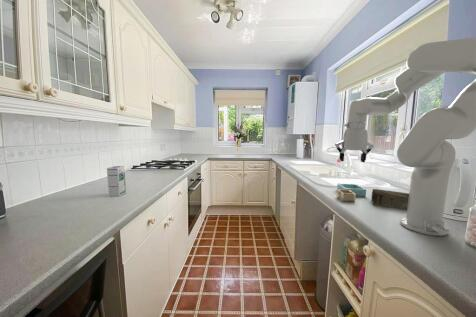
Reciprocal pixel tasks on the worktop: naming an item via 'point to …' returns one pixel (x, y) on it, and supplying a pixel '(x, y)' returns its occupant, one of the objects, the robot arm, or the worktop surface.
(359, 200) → the worktop surface
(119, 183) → the syrup box
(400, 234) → the worktop surface
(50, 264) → the worktop surface
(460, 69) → the robot arm
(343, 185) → the box
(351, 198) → the small crate
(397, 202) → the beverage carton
